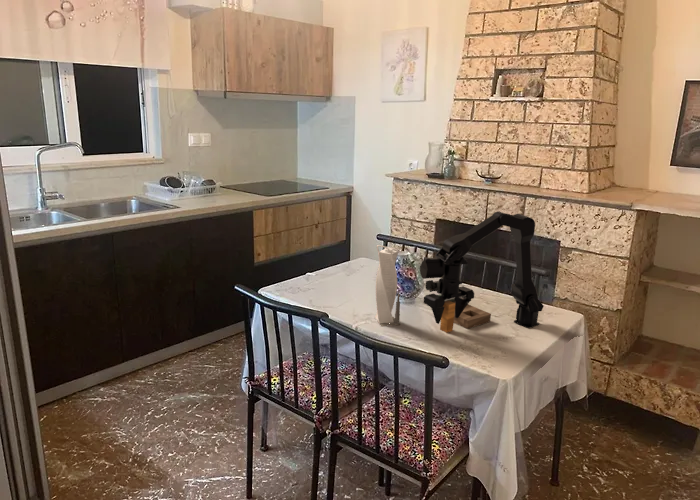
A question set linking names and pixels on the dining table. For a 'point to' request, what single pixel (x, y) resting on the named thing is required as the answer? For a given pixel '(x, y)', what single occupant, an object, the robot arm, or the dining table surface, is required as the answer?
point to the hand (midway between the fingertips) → (447, 320)
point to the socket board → (471, 316)
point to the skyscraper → (387, 287)
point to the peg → (447, 317)
